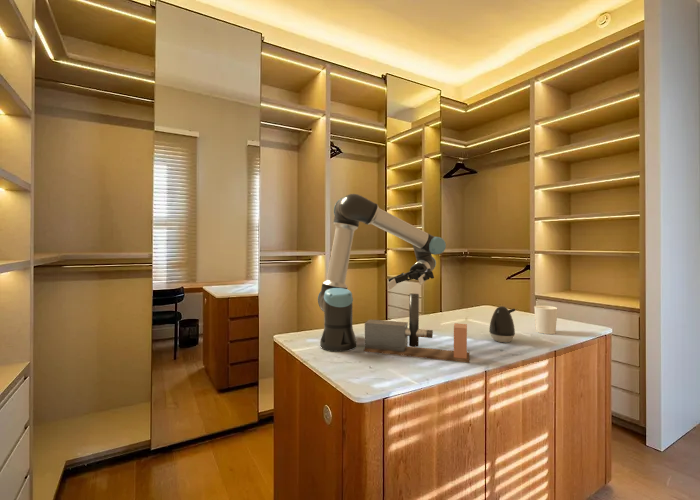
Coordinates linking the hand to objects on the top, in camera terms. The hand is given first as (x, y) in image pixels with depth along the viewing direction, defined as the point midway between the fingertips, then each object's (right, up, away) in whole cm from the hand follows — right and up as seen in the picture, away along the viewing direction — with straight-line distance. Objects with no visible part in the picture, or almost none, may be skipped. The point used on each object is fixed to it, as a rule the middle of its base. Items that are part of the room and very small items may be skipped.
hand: (404, 284), depth 141 cm
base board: (+4, -26, -6) cm, 27 cm away
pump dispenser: (+44, -26, +11) cm, 53 cm away
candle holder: (+72, -26, +26) cm, 80 cm away
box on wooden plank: (-8, -25, -2) cm, 26 cm away
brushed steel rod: (-2, -23, -4) cm, 24 cm away
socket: (+19, -25, -11) cm, 34 cm away
